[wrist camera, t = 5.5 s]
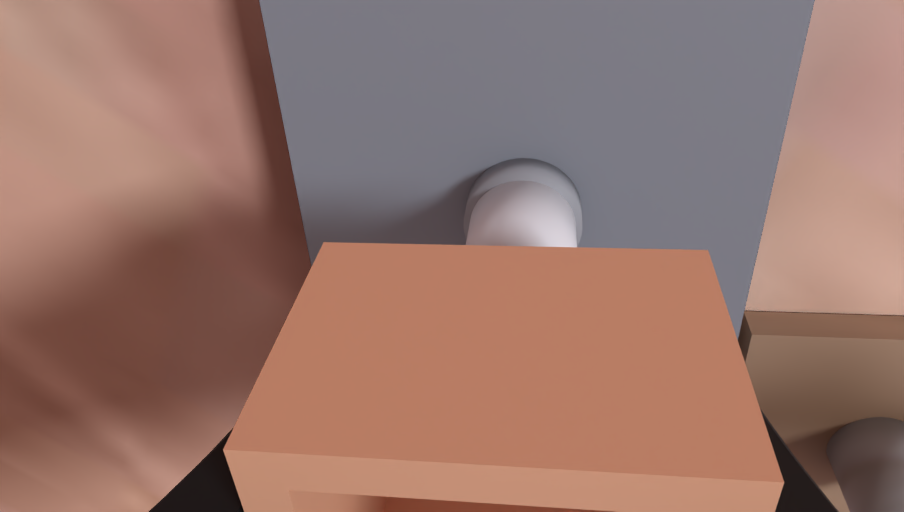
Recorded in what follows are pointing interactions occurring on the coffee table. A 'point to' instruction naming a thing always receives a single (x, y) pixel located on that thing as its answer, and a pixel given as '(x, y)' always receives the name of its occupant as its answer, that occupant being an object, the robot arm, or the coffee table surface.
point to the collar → (505, 387)
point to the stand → (834, 399)
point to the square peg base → (539, 122)
